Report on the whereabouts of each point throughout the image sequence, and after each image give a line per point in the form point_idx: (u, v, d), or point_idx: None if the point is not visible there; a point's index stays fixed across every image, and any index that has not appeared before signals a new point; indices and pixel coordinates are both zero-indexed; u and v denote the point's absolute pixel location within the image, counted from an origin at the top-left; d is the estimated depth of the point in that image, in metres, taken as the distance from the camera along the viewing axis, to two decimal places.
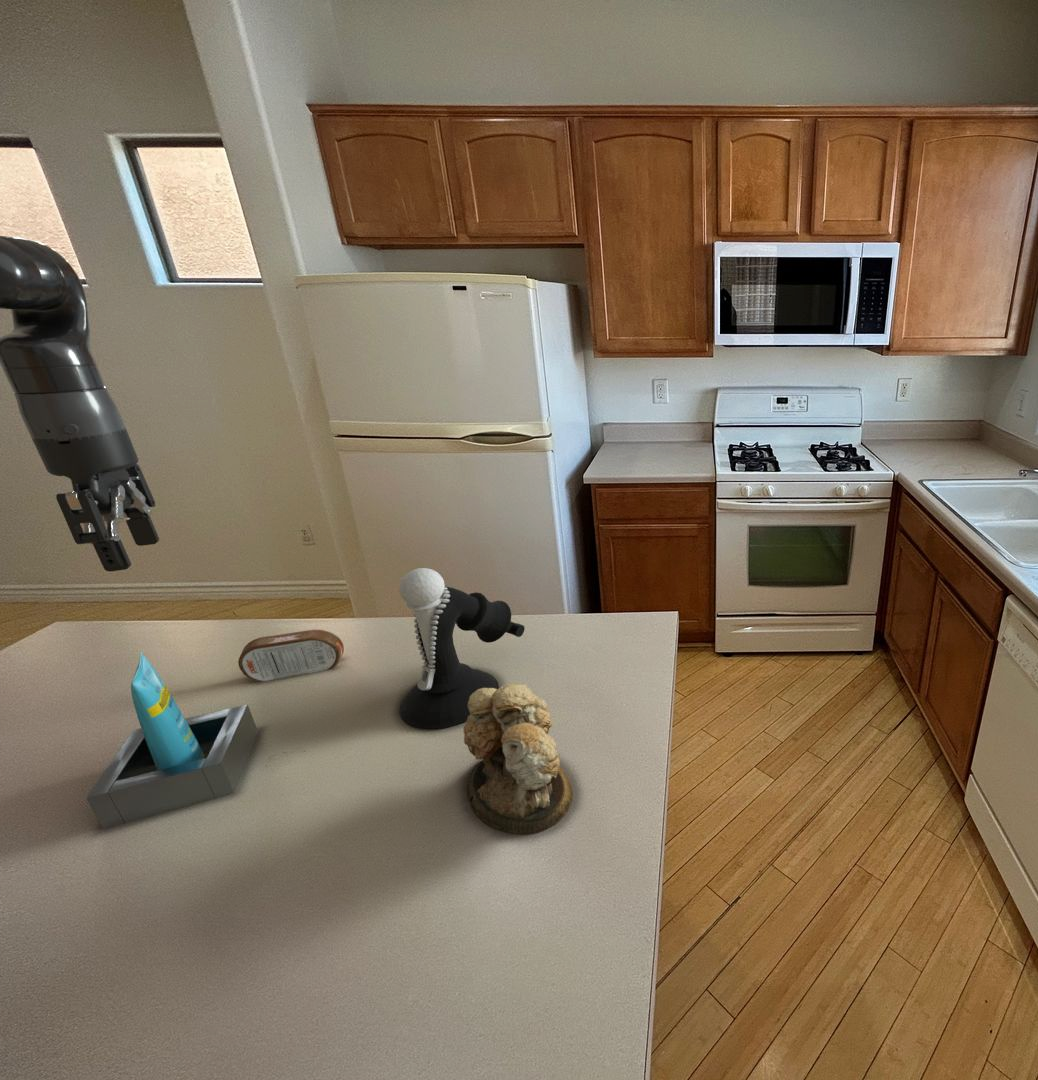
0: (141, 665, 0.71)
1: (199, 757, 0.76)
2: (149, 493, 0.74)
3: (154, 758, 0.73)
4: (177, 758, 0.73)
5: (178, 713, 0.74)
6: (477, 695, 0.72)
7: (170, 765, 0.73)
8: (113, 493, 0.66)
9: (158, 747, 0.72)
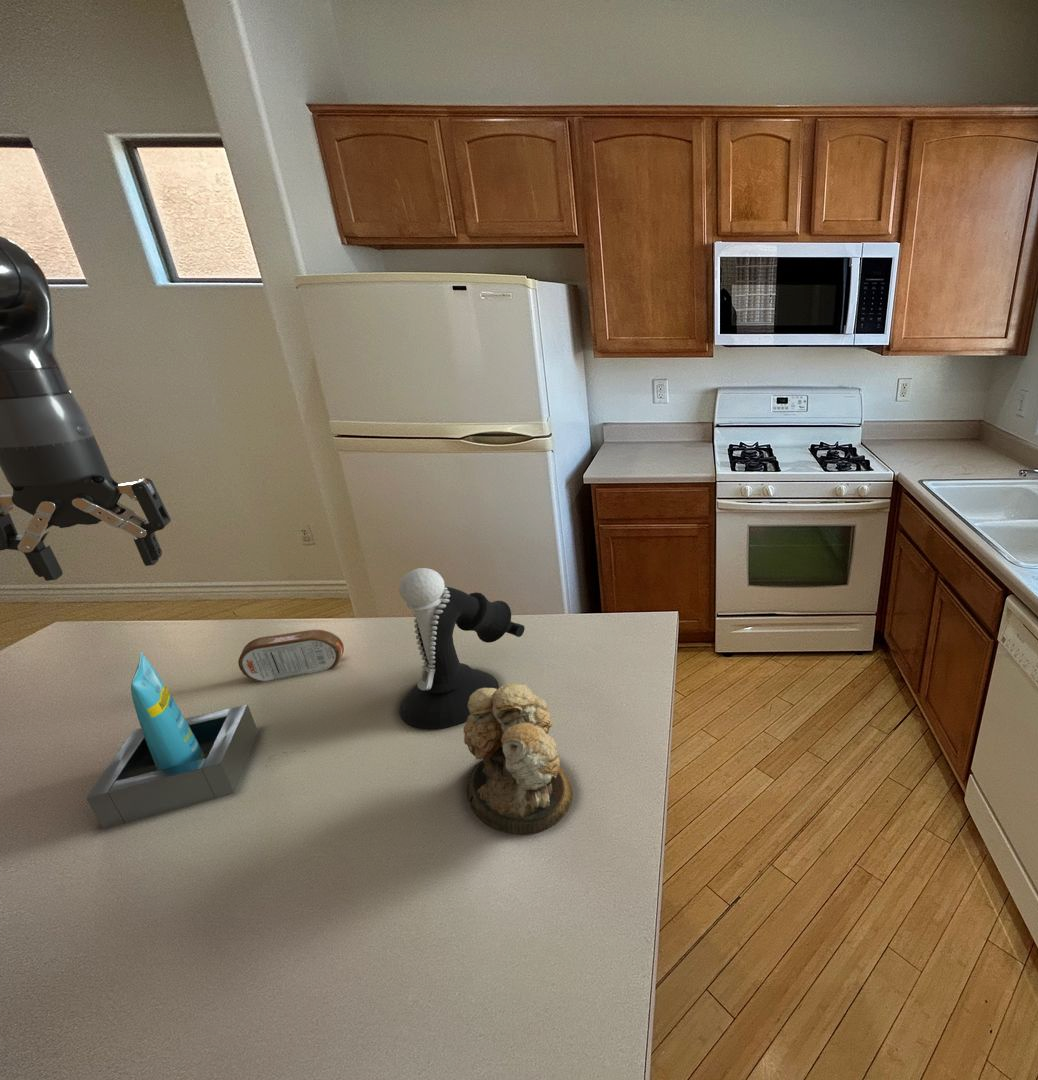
0: (141, 665, 0.71)
1: (199, 757, 0.76)
2: (154, 515, 0.66)
3: (154, 758, 0.73)
4: (177, 758, 0.73)
5: (178, 713, 0.74)
6: (477, 695, 0.72)
7: (170, 765, 0.73)
8: None
9: (158, 747, 0.72)
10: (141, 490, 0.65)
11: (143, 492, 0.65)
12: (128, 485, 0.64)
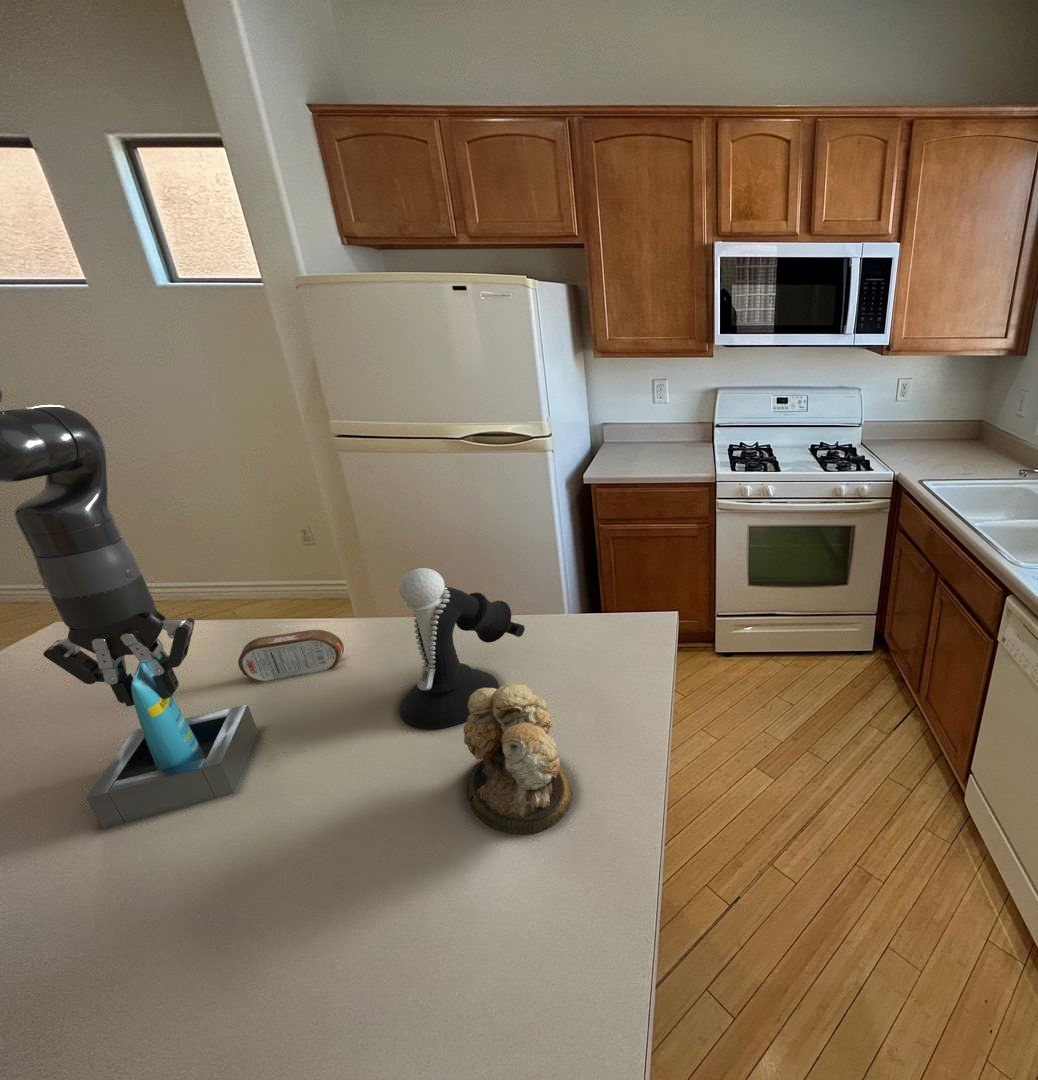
0: (141, 665, 0.71)
1: (199, 757, 0.76)
2: (177, 655, 0.70)
3: (154, 758, 0.73)
4: (177, 758, 0.73)
5: (178, 713, 0.74)
6: (477, 695, 0.72)
7: (170, 765, 0.73)
8: (91, 643, 0.66)
9: (158, 747, 0.72)
10: (182, 633, 0.70)
11: (183, 635, 0.70)
12: (173, 624, 0.70)
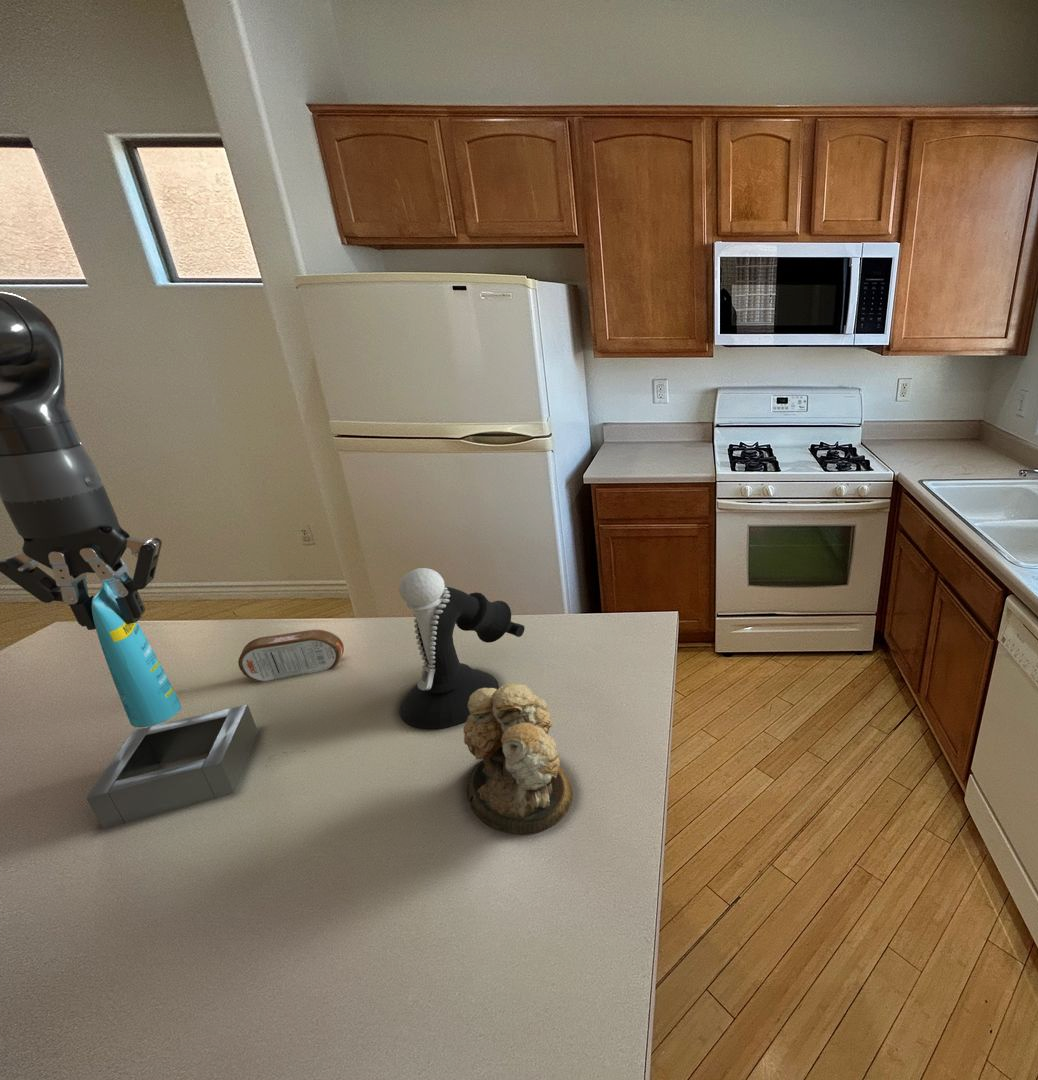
0: (105, 587, 0.67)
1: (167, 691, 0.72)
2: (142, 576, 0.66)
3: (118, 688, 0.68)
4: (143, 689, 0.69)
5: (145, 642, 0.70)
6: (477, 695, 0.72)
7: (135, 696, 0.69)
8: (48, 557, 0.62)
9: (121, 675, 0.67)
10: (147, 552, 0.65)
11: (148, 554, 0.66)
12: (138, 542, 0.65)
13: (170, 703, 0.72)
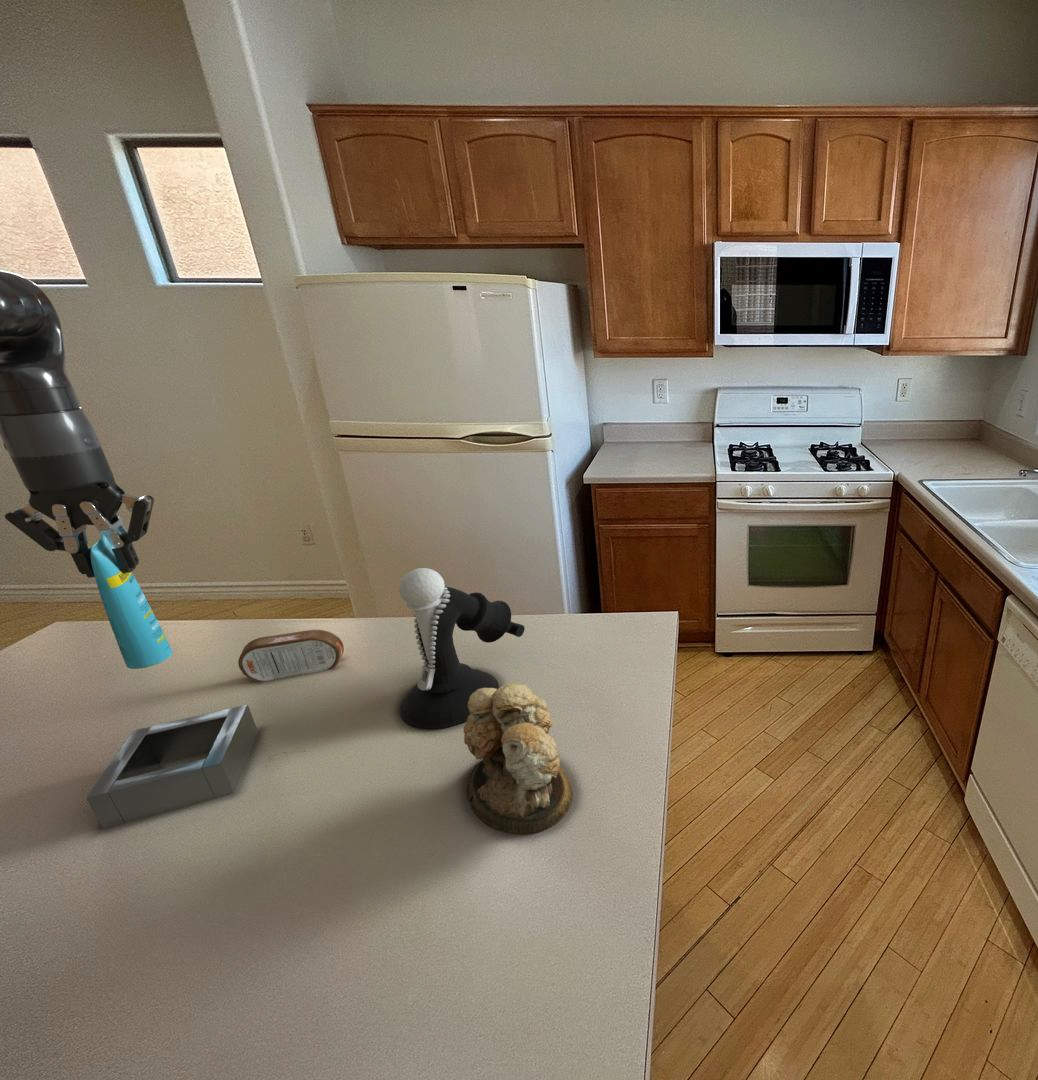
0: (102, 540, 0.74)
1: (159, 637, 0.79)
2: (136, 529, 0.73)
3: (114, 631, 0.75)
4: (137, 633, 0.76)
5: (139, 590, 0.77)
6: (477, 695, 0.72)
7: (130, 639, 0.76)
8: (51, 509, 0.69)
9: (117, 619, 0.75)
10: (141, 507, 0.73)
11: (141, 509, 0.73)
12: (132, 498, 0.73)
13: (162, 648, 0.79)
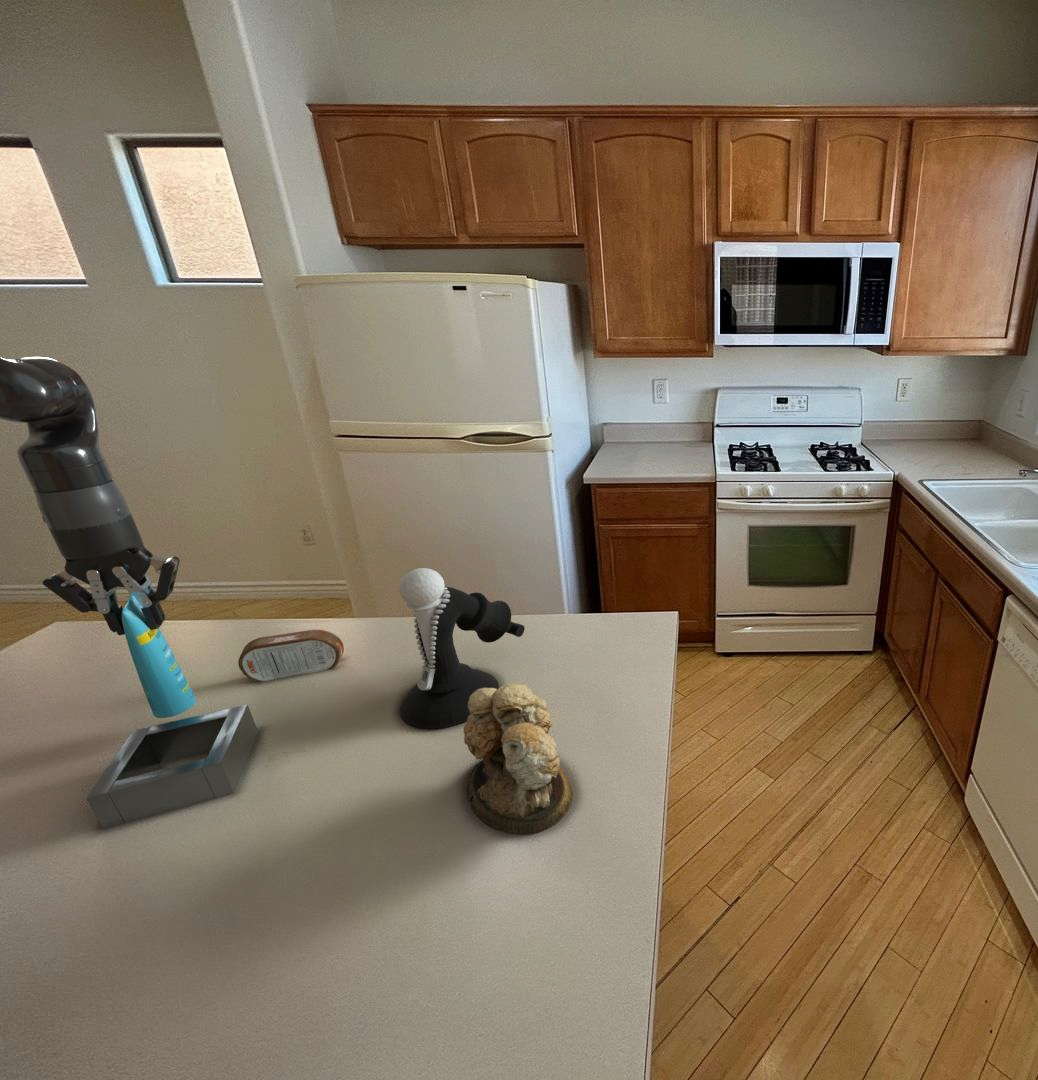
0: (131, 599, 0.79)
1: (184, 687, 0.84)
2: (163, 589, 0.78)
3: (143, 684, 0.80)
4: (164, 685, 0.81)
5: (165, 645, 0.81)
6: (477, 695, 0.72)
7: (157, 691, 0.81)
8: (86, 574, 0.73)
9: (146, 674, 0.79)
10: (168, 569, 0.77)
11: (168, 570, 0.77)
12: (160, 561, 0.77)
13: (187, 697, 0.84)
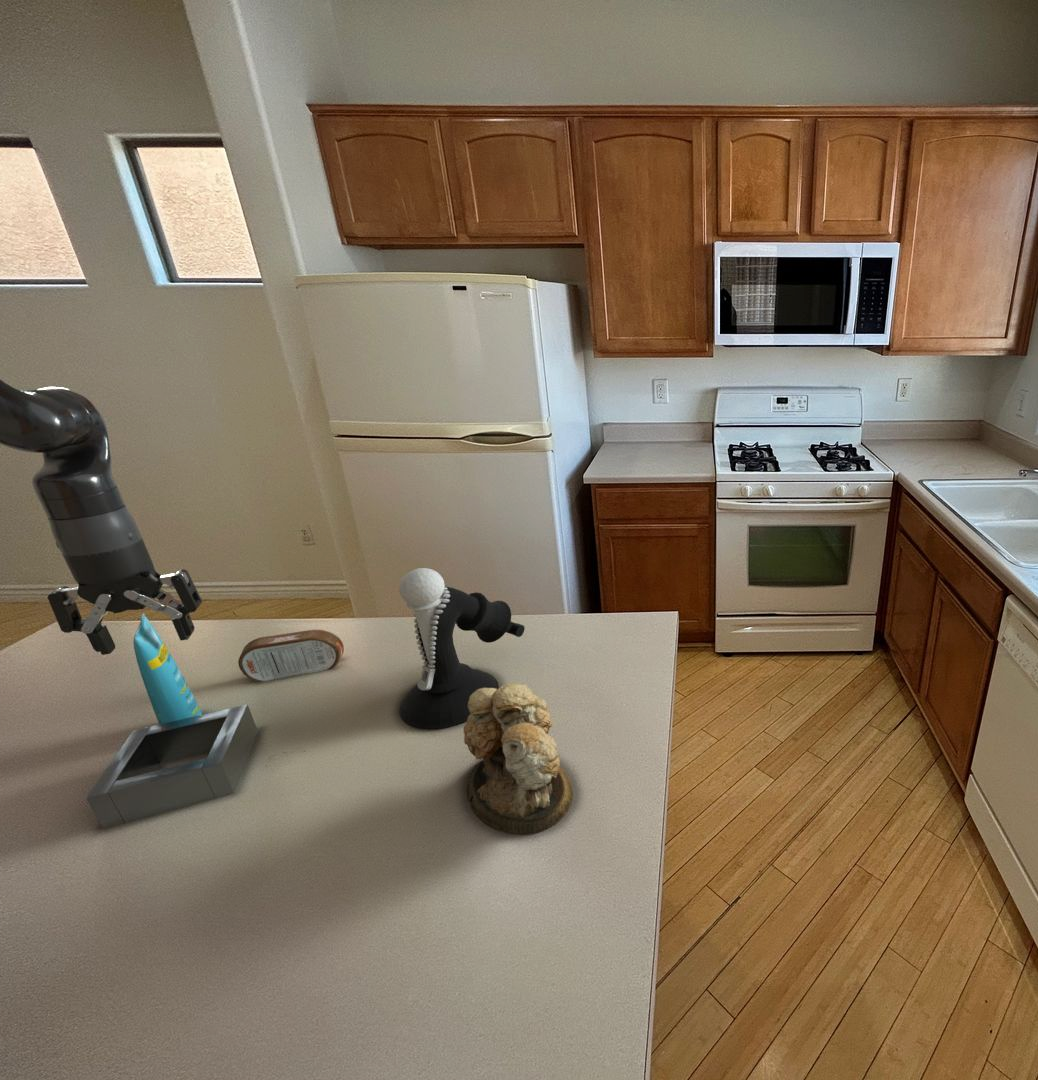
0: (142, 624, 0.80)
1: (194, 709, 0.85)
2: (188, 601, 0.80)
3: (154, 707, 0.82)
4: (174, 708, 0.82)
5: (175, 668, 0.83)
6: (477, 695, 0.72)
7: (168, 714, 0.82)
8: (98, 598, 0.75)
9: (157, 697, 0.81)
10: (178, 581, 0.78)
11: (180, 582, 0.78)
12: (168, 577, 0.78)
13: None
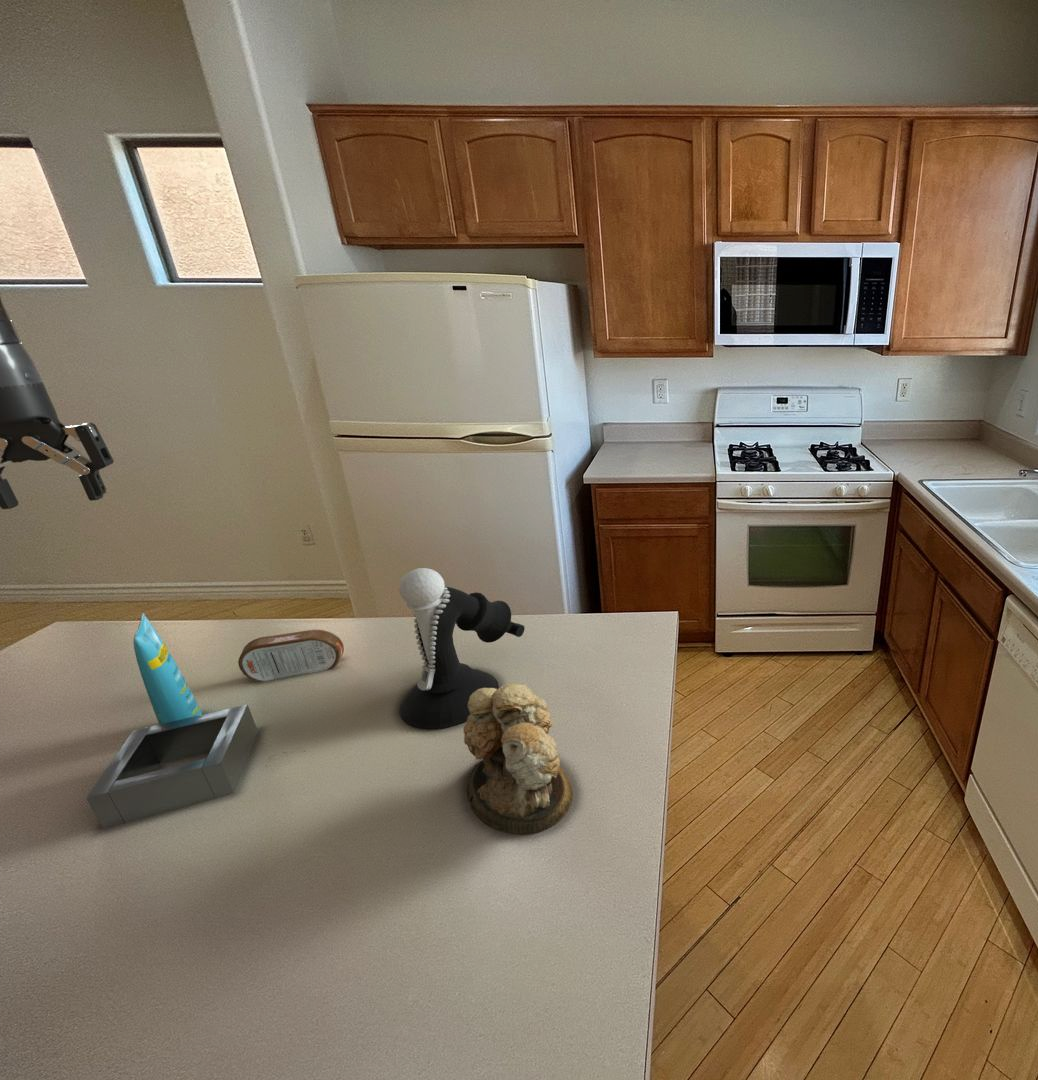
0: (142, 624, 0.80)
1: (194, 709, 0.85)
2: (96, 455, 0.75)
3: (154, 707, 0.82)
4: (174, 708, 0.82)
5: (175, 668, 0.83)
6: (477, 695, 0.72)
7: (168, 714, 0.82)
8: None
9: (157, 697, 0.81)
10: (83, 432, 0.74)
11: (85, 434, 0.74)
12: (72, 427, 0.74)
13: None
